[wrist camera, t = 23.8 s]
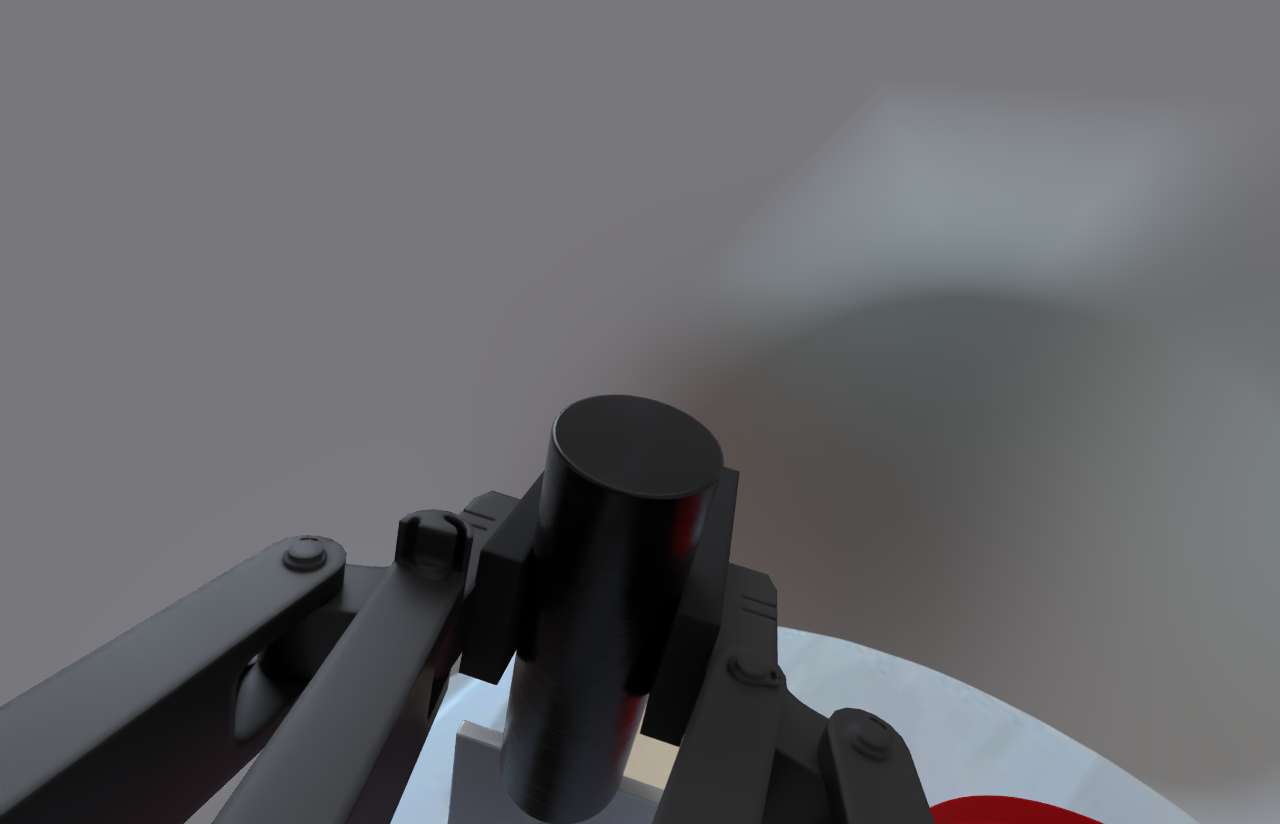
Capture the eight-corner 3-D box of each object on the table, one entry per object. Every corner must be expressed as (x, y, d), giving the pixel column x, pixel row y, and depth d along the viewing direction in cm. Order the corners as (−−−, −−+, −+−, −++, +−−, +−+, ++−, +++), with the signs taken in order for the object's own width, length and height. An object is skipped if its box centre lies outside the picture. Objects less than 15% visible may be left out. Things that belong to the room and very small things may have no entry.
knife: (581, 1038, 19) (789, 543, 9) (417, 975, 20) (453, 438, 10) (607, 927, 22) (795, 439, 12) (460, 873, 22) (524, 360, 12)
